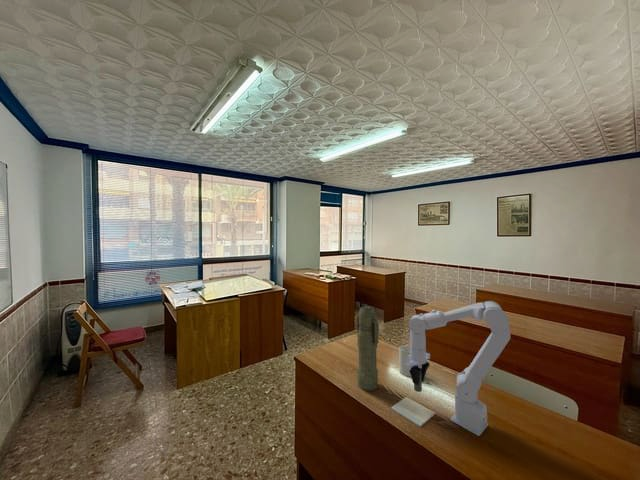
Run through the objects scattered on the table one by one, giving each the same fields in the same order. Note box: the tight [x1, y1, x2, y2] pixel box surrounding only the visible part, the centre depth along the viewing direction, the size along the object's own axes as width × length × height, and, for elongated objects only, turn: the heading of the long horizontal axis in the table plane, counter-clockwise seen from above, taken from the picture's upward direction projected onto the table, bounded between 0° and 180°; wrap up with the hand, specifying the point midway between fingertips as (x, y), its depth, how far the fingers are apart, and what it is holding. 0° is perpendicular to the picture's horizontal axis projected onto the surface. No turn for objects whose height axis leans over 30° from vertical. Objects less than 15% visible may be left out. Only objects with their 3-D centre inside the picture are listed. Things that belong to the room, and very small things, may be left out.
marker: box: [413, 365, 423, 393], centre depth 97 cm, size 3×3×10 cm
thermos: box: [356, 305, 380, 392], centre depth 112 cm, size 9×12×35 cm
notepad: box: [391, 396, 436, 428], centre depth 95 cm, size 12×10×1 cm
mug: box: [398, 345, 411, 377], centre depth 123 cm, size 10×7×12 cm, turn 128°
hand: (418, 382), depth 97 cm, fingers closed on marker, 3 cm apart
